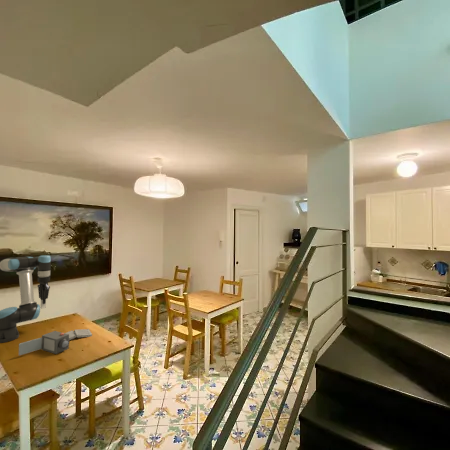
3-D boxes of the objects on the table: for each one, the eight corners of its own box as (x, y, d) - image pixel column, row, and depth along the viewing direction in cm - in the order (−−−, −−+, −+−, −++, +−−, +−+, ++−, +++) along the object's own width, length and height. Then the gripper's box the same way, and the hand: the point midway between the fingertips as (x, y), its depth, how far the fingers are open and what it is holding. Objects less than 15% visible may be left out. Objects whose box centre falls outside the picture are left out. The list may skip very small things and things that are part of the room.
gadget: (58, 344, 186) (58, 339, 186) (56, 337, 197) (56, 333, 198) (92, 336, 200) (92, 332, 200) (88, 330, 212) (88, 326, 212)
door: (42, 347, 176) (42, 336, 176) (42, 348, 175) (43, 337, 176) (18, 354, 166) (18, 343, 166) (19, 355, 165) (19, 344, 165)
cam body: (41, 349, 176) (41, 334, 176) (54, 344, 184) (55, 329, 185) (58, 355, 168) (58, 338, 169) (71, 349, 177) (71, 333, 177)
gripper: (33, 276, 185) (32, 307, 185) (43, 278, 179) (41, 310, 179) (45, 274, 192) (44, 305, 191) (54, 276, 186) (53, 308, 185)
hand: (43, 307), depth 185 cm, fingers closed
